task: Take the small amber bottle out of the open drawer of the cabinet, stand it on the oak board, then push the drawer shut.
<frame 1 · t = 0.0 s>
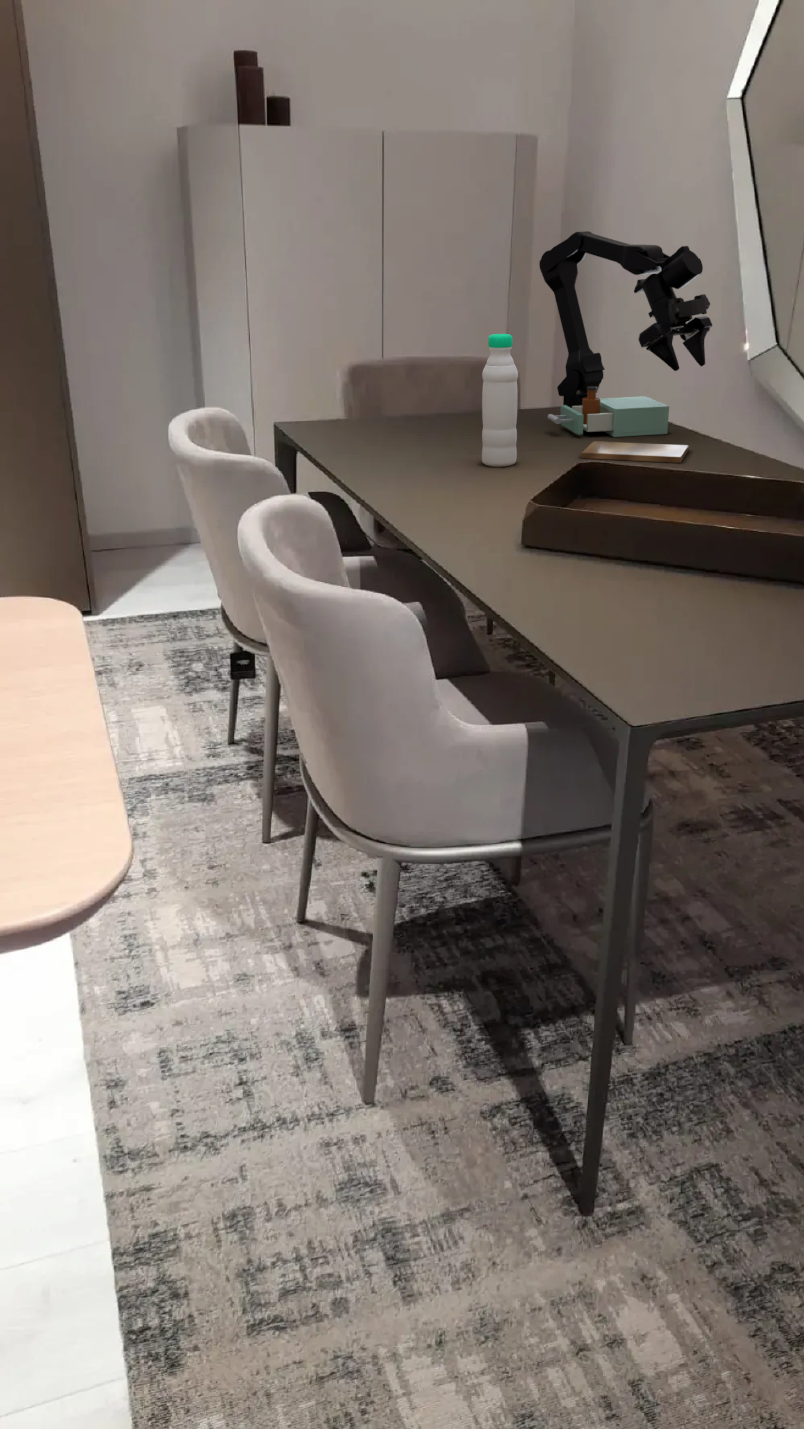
hand: (690, 367, 237), 15 cm above the table, tool tilted 35°, fingers open, 9 cm apart
water bottle: (499, 464, 224), on the table
board: (635, 454, 228), on the table
drawer: (584, 418, 251), point 3 cm above the table, slide at 7.0 cm, touching bottle
bottle: (590, 423, 251), point 2 cm above the table, touching drawer
cabinet: (629, 429, 253), on the table
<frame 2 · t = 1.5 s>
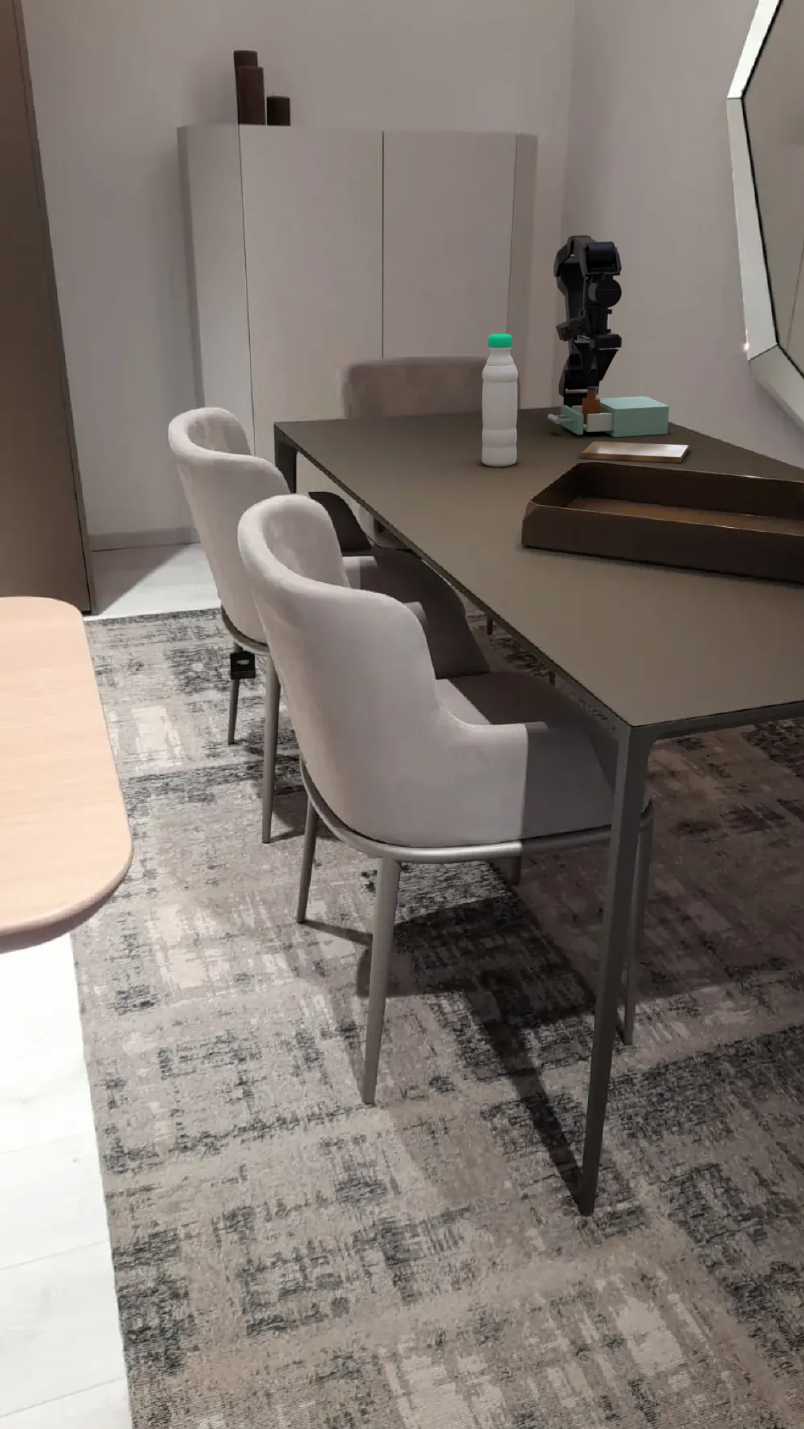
hand: (592, 378, 247), 12 cm above the table, tool pointing down, fingers open, 9 cm apart
nothing on the table moved.
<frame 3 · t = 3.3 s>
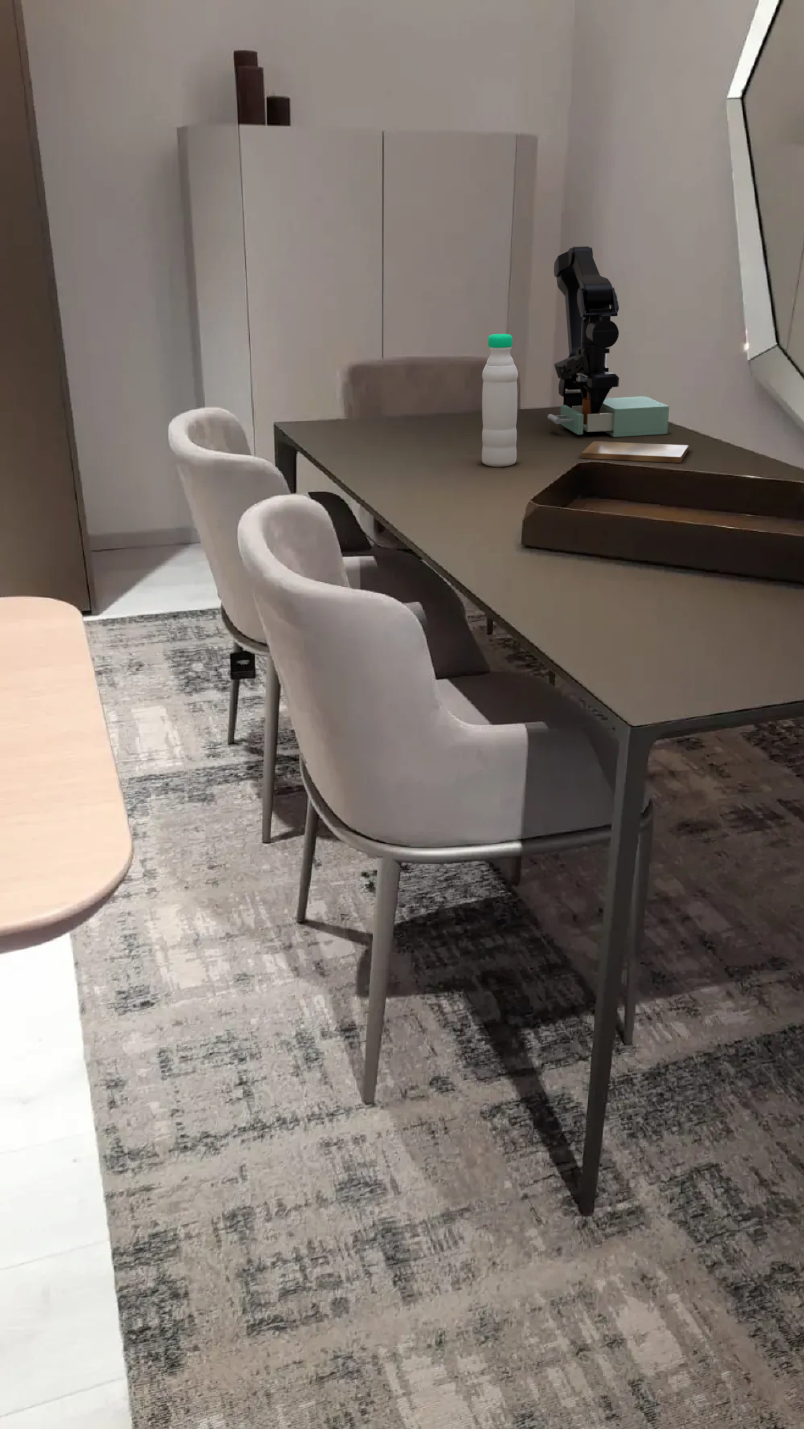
hand: (590, 415, 250), 4 cm above the table, tool pointing down, fingers closed on bottle, 4 cm apart
bottle: (590, 423, 251), point 2 cm above the table, touching drawer, gripper
everything else where it was.
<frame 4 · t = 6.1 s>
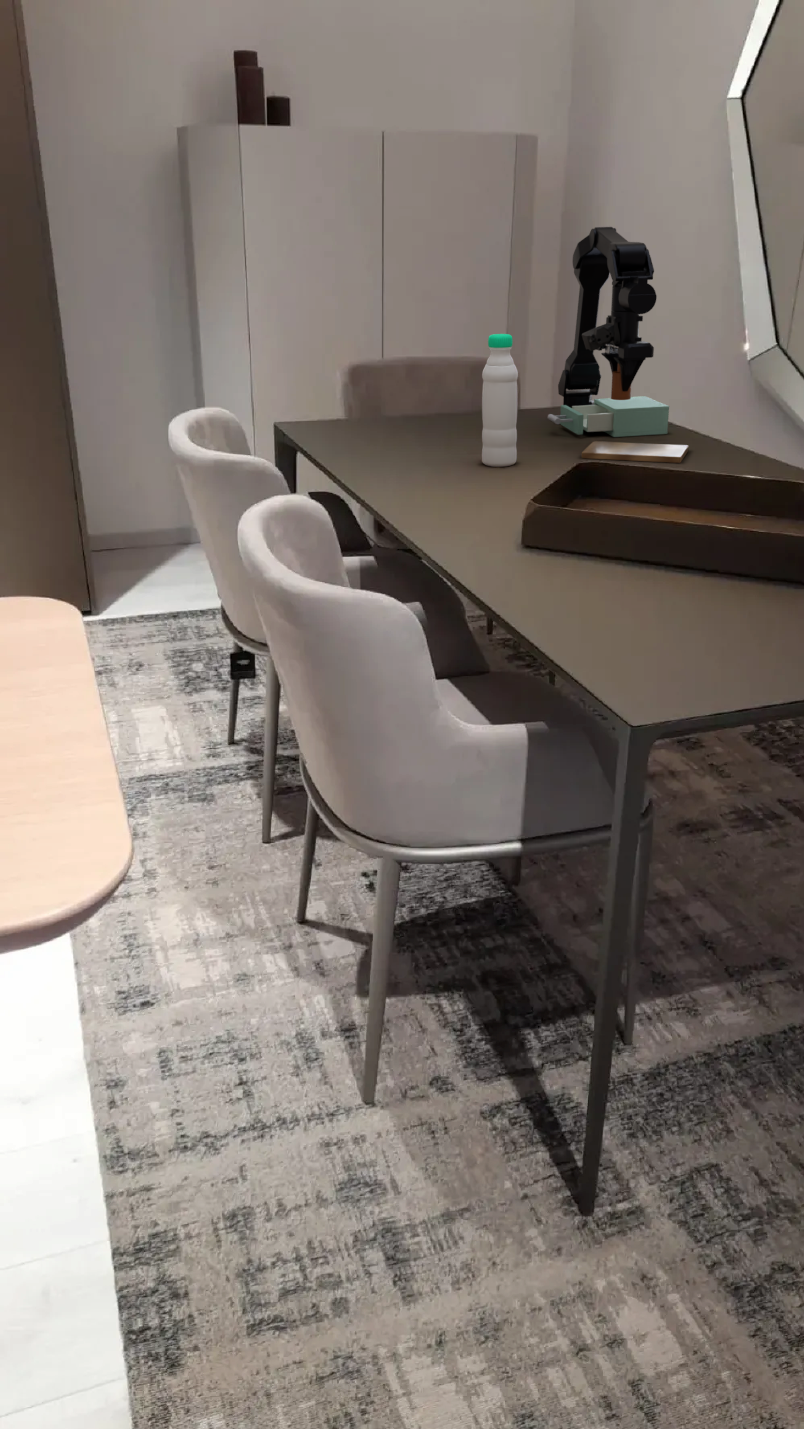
hand: (621, 390, 229), 12 cm above the table, tool pointing down, fingers closed on bottle, 4 cm apart
drawer: (584, 418, 251), point 3 cm above the table, slide at 7.0 cm
bottle: (620, 398, 230), point 10 cm above the table, touching gripper
everything else where it was.
when the fingers open (3 cm above the table, at t = 8.7 s): bottle stays where it is, resting on board.
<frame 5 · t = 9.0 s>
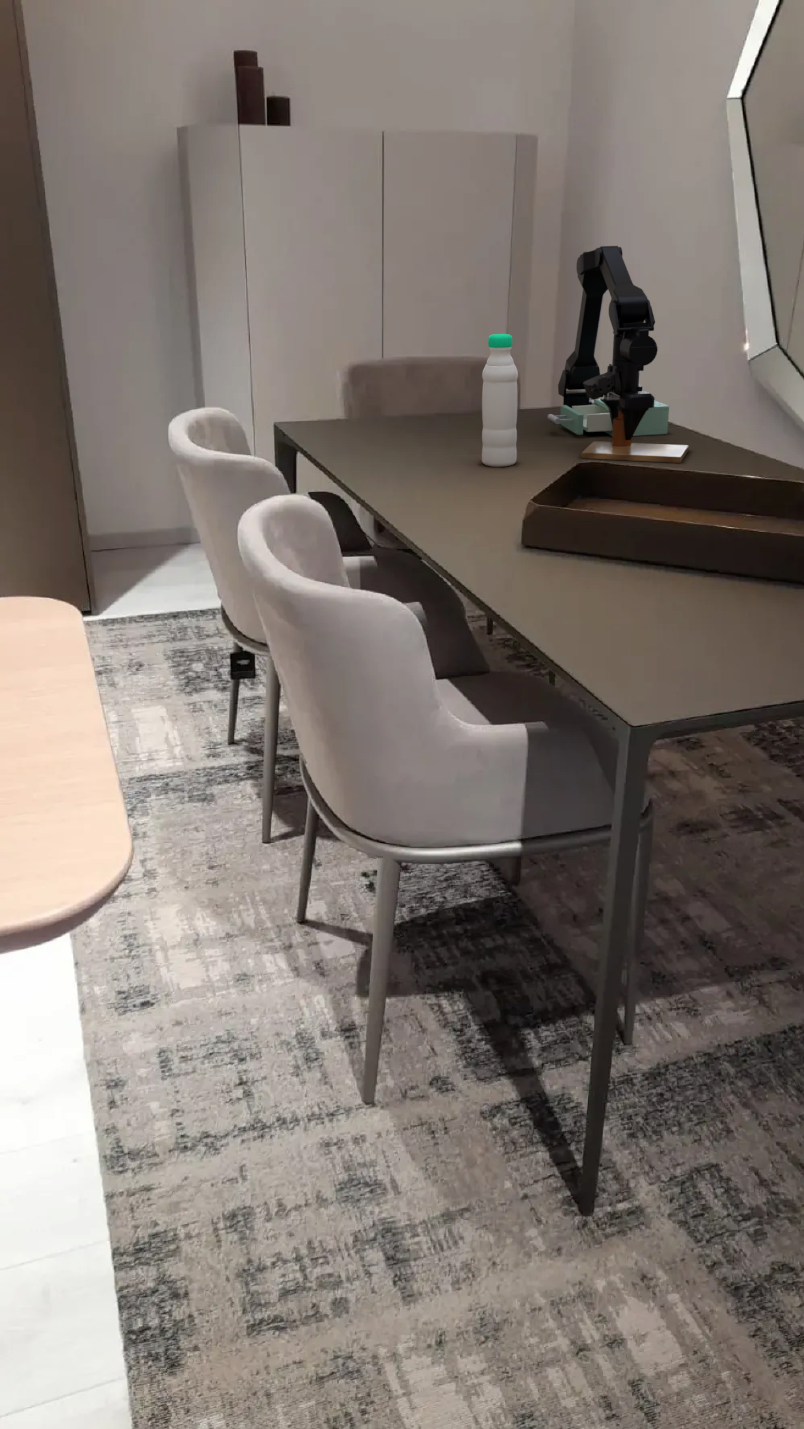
hand: (622, 437, 231), 3 cm above the table, tool pointing down, fingers open, 6 cm apart
bottle: (621, 444, 232), point 1 cm above the table, touching board
everything else where it was.
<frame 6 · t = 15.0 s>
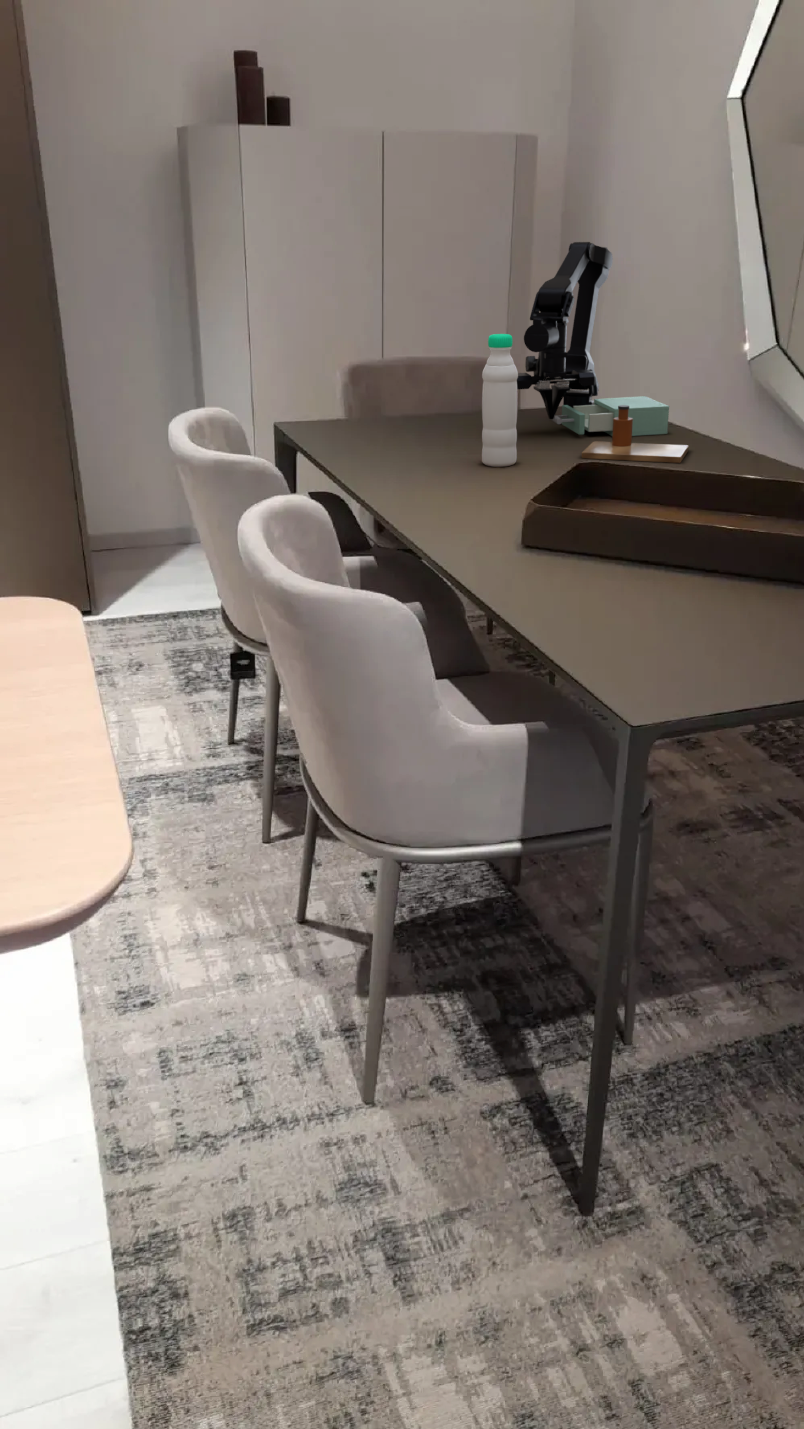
hand: (550, 418, 249), 3 cm above the table, tool pointing down, fingers closed
drawer: (585, 418, 251), point 3 cm above the table, slide at 6.7 cm, touching gripper
everything else where it was.
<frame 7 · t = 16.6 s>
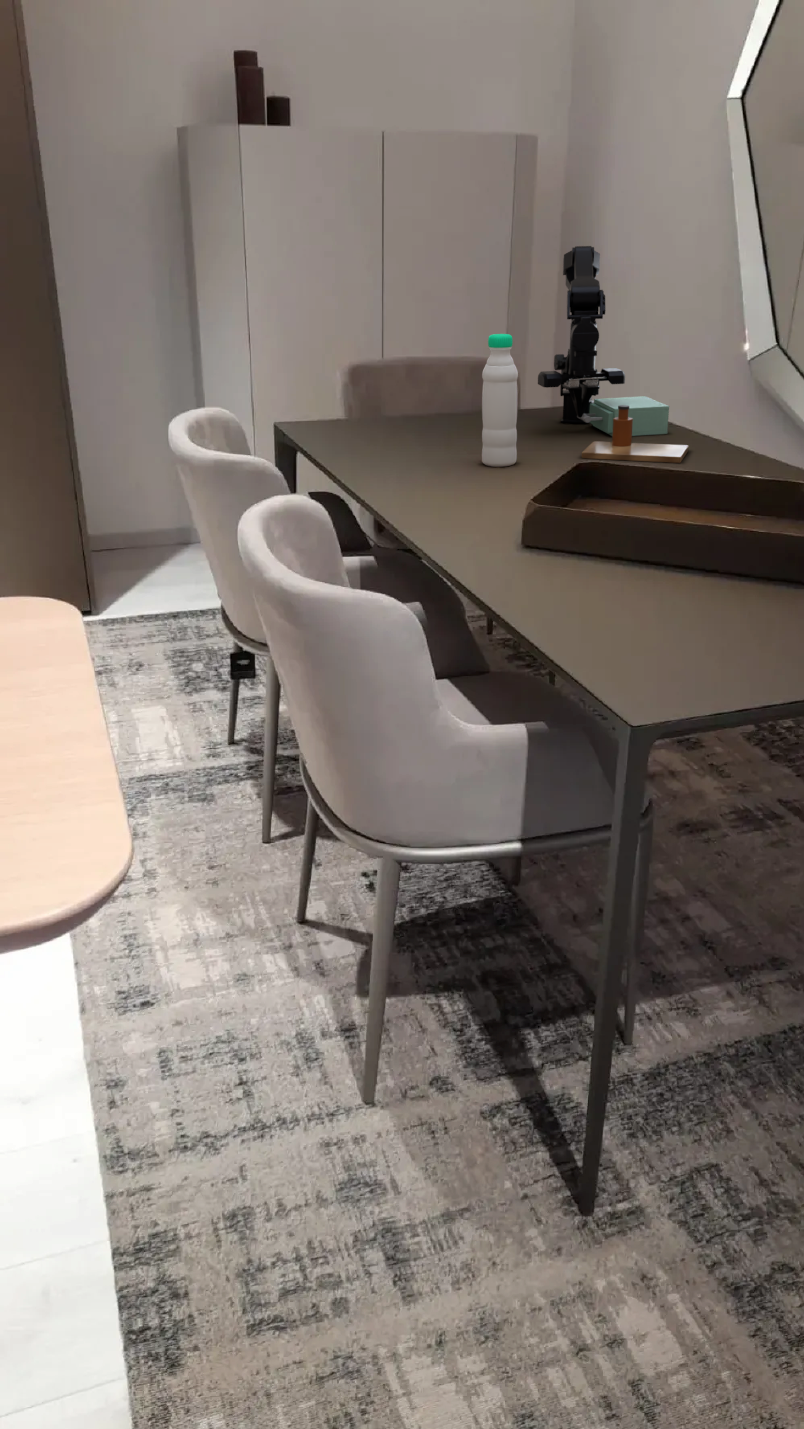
hand: (579, 417, 250), 3 cm above the table, tool pointing down, fingers closed
drawer: (613, 417, 251), point 3 cm above the table, slide at 0.0 cm, touching cabinet, gripper
everything else where it was.
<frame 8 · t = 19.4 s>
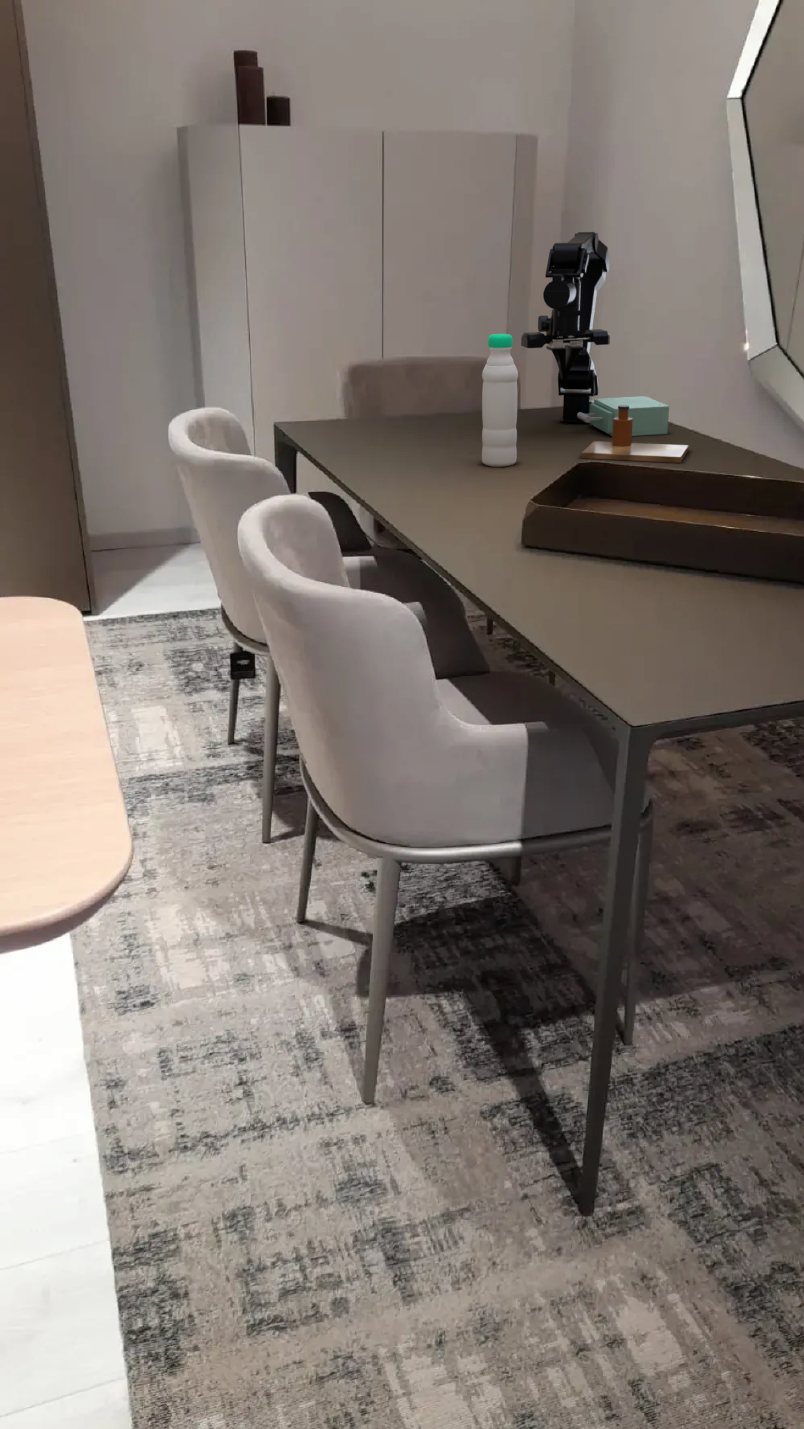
hand: (563, 379, 246), 12 cm above the table, tool pointing down, fingers closed
drawer: (613, 417, 251), point 3 cm above the table, slide at 0.0 cm
everything else where it was.
at the end: bottle 0.0 cm from the target spot on the board, point 1.2 cm above the board's base; bottle tilted 0°; drawer slide at 0.0 cm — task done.
